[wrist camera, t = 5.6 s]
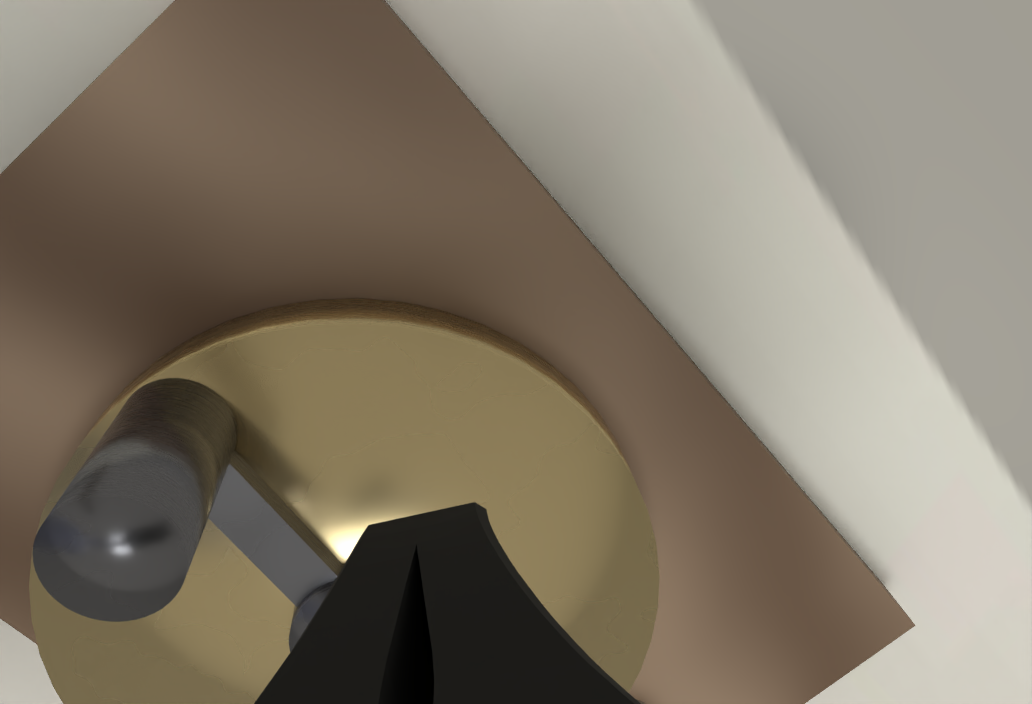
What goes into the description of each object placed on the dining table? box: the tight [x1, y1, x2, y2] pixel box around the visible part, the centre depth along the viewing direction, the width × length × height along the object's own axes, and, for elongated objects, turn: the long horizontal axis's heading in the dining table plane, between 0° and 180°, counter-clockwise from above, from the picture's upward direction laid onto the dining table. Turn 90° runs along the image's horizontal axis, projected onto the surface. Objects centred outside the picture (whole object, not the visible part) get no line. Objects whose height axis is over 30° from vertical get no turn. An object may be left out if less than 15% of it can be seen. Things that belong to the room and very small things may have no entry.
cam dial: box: [29, 298, 660, 704], centre depth 17 cm, size 12×12×5 cm
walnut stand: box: [0, 0, 915, 704], centre depth 19 cm, size 14×20×4 cm
